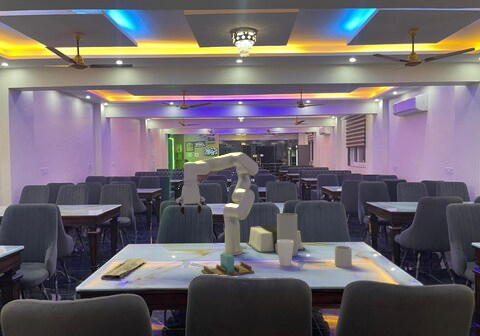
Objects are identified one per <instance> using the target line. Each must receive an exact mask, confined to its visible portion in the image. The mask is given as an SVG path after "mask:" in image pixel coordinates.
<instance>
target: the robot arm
mask: <svg viewBox="0 0 480 336" xmlns="http://www.w3.org/2000/svg"><path fill="white" fill-rule="evenodd" d="M233 167H235V171H236V173H237V174H236V175H237V177H238V180H237V184H236V185H235V188H234V190H233V193H232V194H231V201H232V202H230V203H227V204H225V205H224V206H223V209H222V215H223V219H224V250H222V253H229V254H231V255H233V256H238V255H242V254H243V250H247V249H248V246H247V245H245V246H244V245H241V235H240V234H241V230H240V229H241V226H240V224H241V223H240V220H241V221H242V220H245V219H247V217H248V215H249V213H250V211H251V210H252V209H251V208H252V207H253V205H254V202H255V193H254V190H252V189H250V188H251V184H252V181H251V178H250V176H255V175H257V174H258V172H259V164H258V163H257V162H256V161H255V160H254V159H252V158H251V157H250V156H248V155H247V154H246V153H244V152H230V153H227V154H223V155H220V156H219V155H218V156H214V157H210V158H206V159H202V160H197V161H194V162H191V161H187V162H185V163H184V164H183V186H182V188H181V195H180V197H178V198H175V202H176V203H177V205H178V206H179V207H180V213H181V215H185V207H184V206H185V205H186V204H196V205H197V213H198V214H200V213H201V212H202V206H203V204H204V203H205V202H206V201H205V200H206V198H205V197H204V196H201V194H200V189H199V188H200V187H199V184H200V183H201V182H200V181H199V180H198V175H200V176H201V175H202V176H203V175H208V174H209V173H211V171H212V172H213V171H214V172H215V171H222V170H226V169H230V168H233ZM180 200H181V201H180ZM233 202H234V203H233Z"/></svg>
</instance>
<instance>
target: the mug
mask: <svg viewBox="0 0 480 336" xmlns="http://www.w3.org/2000/svg"><path fill="white" fill-rule="evenodd" d="M352 251H353V250H352V247H351V246H348V245H336V246H334V266H335V267H338V268H343V269H344V268H345V269H346V268H347V269H348V268H351V267H352V266H353V265H352V264H353V263H352V262H353V261H352V259H353V258H352Z"/></svg>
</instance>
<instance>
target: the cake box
mask: <svg viewBox="0 0 480 336" xmlns="http://www.w3.org/2000/svg"><path fill="white" fill-rule="evenodd" d="M249 230H250V232H249V241H246V242H245V243H246V244H247V245H249V247H251V248H252V249H254V250H255V251H256V252H257V253H259V254H260V253H261V254H262V253H263V254H266V253H277V224H273V225H272V224H271V225H259V226H250V229H249ZM297 234H298V251H305V250H306V248H305V247H304V246H303V242H302V237H301V236H302V235H301V231H300V230H297Z"/></svg>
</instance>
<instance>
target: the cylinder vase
mask: <svg viewBox="0 0 480 336" xmlns="http://www.w3.org/2000/svg"><path fill="white" fill-rule="evenodd" d="M276 226H277V240H292V241H294V246H293V253H292V258H293V257H297V255H298V254H299V250H298V234H297V231H298V214H297V213H293V212H291V213H290V212H286V213H284V212H281V213H276ZM276 253H277V255H278V247H277V252H276Z"/></svg>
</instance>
